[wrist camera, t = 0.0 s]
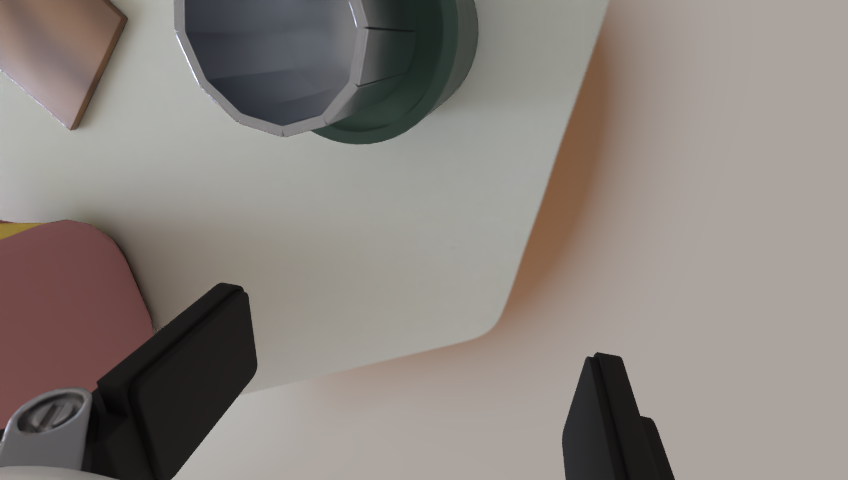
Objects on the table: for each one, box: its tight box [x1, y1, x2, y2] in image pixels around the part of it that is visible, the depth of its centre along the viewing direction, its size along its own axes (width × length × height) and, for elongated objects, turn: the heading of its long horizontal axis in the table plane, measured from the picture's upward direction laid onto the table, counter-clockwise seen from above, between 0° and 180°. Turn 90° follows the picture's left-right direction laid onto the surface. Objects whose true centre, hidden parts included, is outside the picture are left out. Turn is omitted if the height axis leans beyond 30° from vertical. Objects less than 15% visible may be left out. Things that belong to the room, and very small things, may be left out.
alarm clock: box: [0, 220, 154, 429], centre depth 36 cm, size 18×11×19 cm, turn 5°
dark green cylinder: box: [310, 0, 478, 144], centre depth 24 cm, size 10×10×10 cm
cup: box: [174, 0, 417, 137], centre depth 17 cm, size 7×7×7 cm
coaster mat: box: [0, 0, 127, 131], centre depth 33 cm, size 12×12×1 cm
